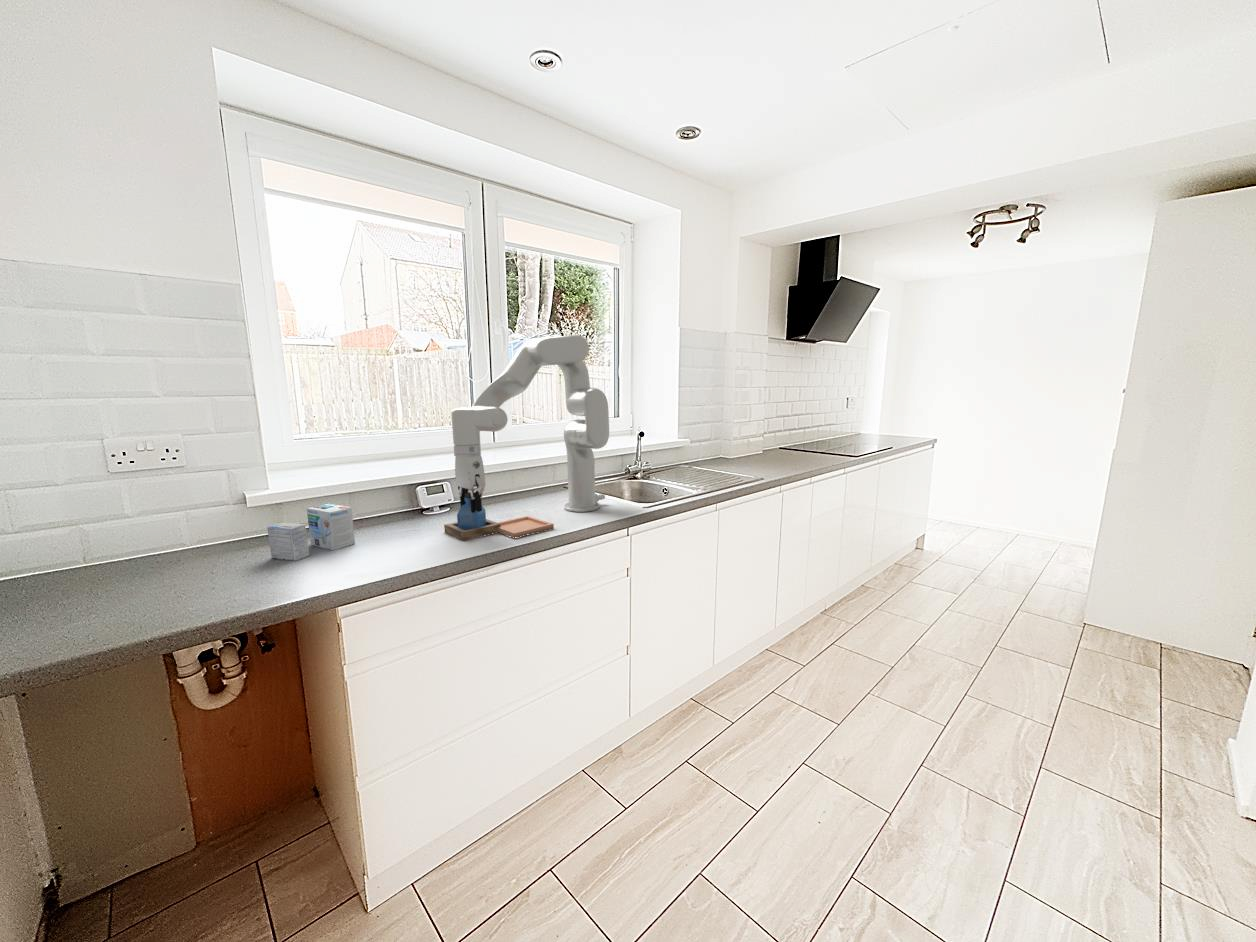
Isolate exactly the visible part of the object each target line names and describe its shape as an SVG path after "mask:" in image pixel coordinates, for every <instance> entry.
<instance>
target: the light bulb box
mask: <svg viewBox="0 0 1256 942" xmlns="http://www.w3.org/2000/svg"><path fill="white" fill-rule="evenodd" d="M306 514H307V521H308V531H309V539H310V540H309V541H310V545H311V546H314V545H315V546H314V547H317V548H318V547H319V548H322V549H326V550H329V549H330V550H331V551H336V550H339V549H343V548H346V547H349V545H350V546H353V545H355V544H356V541H355V540H356V539H355V529H354V521H353V520H354V519H353V508H352V507H351V506H346V505H340V504H332V503H326V504H321V505H316V506H311V507H306ZM352 544H353V545H352ZM345 546H346V547H345ZM342 547H343V548H342ZM338 548H339V549H338ZM335 549H336V550H335Z"/></svg>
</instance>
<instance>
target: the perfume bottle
mask: <svg viewBox="0 0 1256 942" xmlns="http://www.w3.org/2000/svg"><path fill="white" fill-rule="evenodd" d="M475 492H476V491H474V494H475ZM465 496H466V497H465V502H466V504H464V505H462V506H461V505H460V508H459V510H458V512H457V514H456V519H457V521H456V522H458V527H459V528H461V529H464V530H469V529H473V528H478V527H482V526H486V519H487V517H486V515H487V514H486V513H487V512H486V508H484V506H483V505H482V511H480V512H477V511H475V513H472V512H471V502H470V499H472V498H471V493H470V491H469V493H465Z"/></svg>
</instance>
